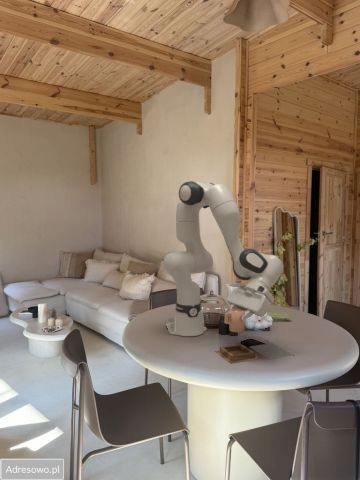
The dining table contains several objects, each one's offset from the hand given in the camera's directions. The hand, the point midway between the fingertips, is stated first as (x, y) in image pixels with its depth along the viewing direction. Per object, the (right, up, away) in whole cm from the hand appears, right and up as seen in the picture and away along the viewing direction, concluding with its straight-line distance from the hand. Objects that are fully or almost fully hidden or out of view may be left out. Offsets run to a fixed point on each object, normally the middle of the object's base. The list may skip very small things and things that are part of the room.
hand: (235, 317), depth 142 cm
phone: (+20, -14, +43) cm, 49 cm away
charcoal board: (+15, -16, +6) cm, 23 cm away
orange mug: (0, -5, 0) cm, 5 cm away
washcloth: (+29, -13, +57) cm, 65 cm away
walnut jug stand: (+1, -16, +1) cm, 16 cm away
